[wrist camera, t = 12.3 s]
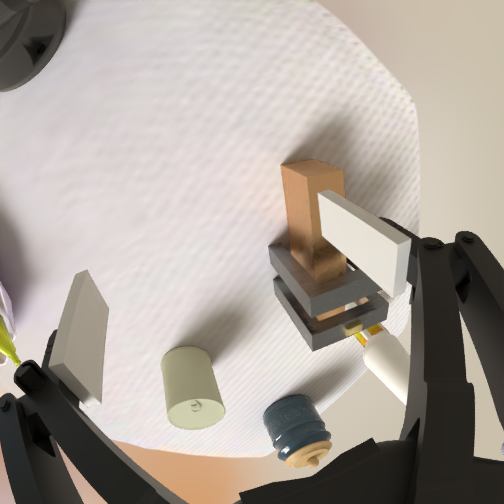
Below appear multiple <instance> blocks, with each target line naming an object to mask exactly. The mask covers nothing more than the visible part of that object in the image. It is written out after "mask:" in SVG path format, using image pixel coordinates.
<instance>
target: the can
mask: <svg viewBox="0 0 504 504" xmlns="http://www.w3.org/2000/svg"><path fill="white" fill-rule="evenodd" d="M161 370H162V374H163V382H164V390H165V399H166V407H167V418H168V420H169V422H170V423H171V424H172V425H174V426H176V427H178V428H181V429H186V430H198V429H204V428H207V427H210V426H212V425H214V424H216V423H218V422H219V421H220V420H221V419H222V418H223V417H224V415H225V407H224V405H223V402H222V399H221V396H220V393H219V389H218V386H217V383H216V379H215V376H214V372H213V368H212V362H211V358H210V356H209V355H208V353H207V352H205V351H204V350H202V349H200V348H197V347H192V346H184V347H178V348H175V349H173V350H171V351H169V352H168V353H167V354H166V355H165V356H164V357H163V359H162V361H161Z"/></svg>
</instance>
